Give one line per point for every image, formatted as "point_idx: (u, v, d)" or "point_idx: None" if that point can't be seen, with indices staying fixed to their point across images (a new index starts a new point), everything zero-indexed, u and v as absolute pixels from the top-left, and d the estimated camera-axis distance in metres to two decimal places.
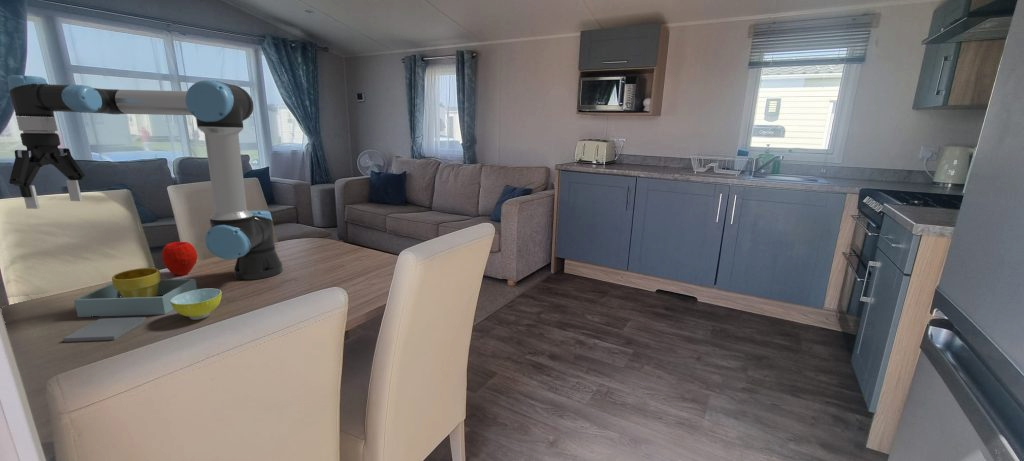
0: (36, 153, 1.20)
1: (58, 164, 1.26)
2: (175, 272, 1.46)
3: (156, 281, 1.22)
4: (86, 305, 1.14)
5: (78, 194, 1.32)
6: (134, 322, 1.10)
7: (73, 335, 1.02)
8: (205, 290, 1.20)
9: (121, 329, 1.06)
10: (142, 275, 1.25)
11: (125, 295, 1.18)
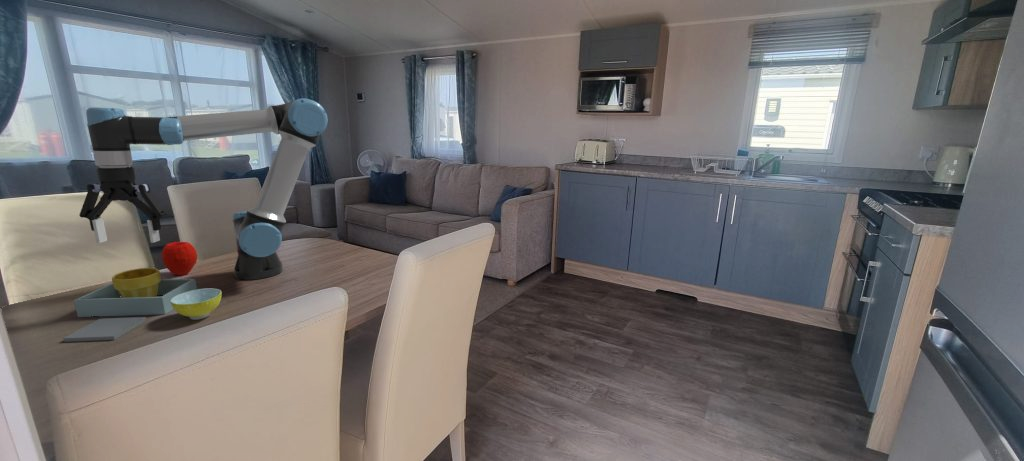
0: (102, 188, 1.14)
1: None
2: (175, 272, 1.46)
3: (156, 281, 1.22)
4: (86, 305, 1.14)
5: (150, 235, 1.18)
6: (134, 322, 1.10)
7: (73, 335, 1.02)
8: (205, 290, 1.20)
9: (121, 329, 1.06)
10: (142, 275, 1.25)
11: (125, 295, 1.18)
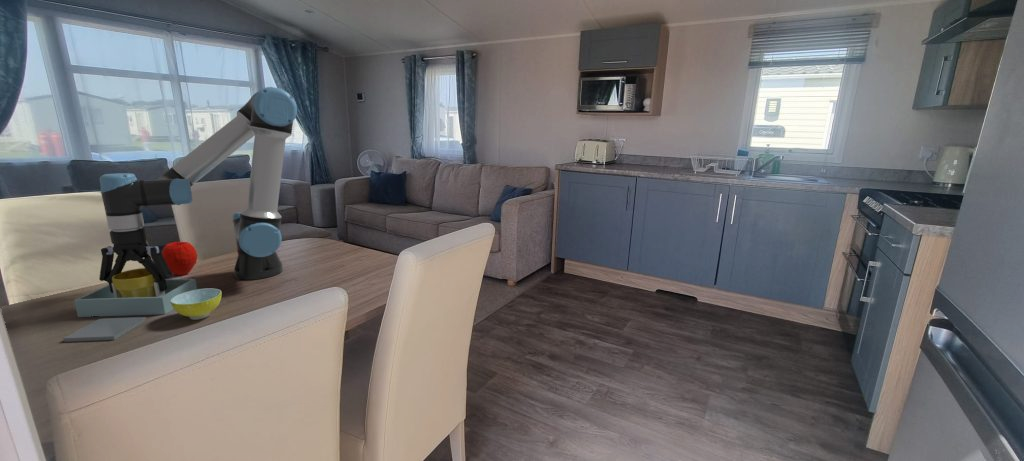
0: (115, 250, 1.18)
1: None
2: (175, 272, 1.46)
3: None
4: (86, 305, 1.14)
5: (156, 296, 1.22)
6: (134, 322, 1.10)
7: (73, 335, 1.02)
8: (205, 290, 1.20)
9: (121, 329, 1.06)
10: (142, 275, 1.25)
11: (125, 295, 1.18)
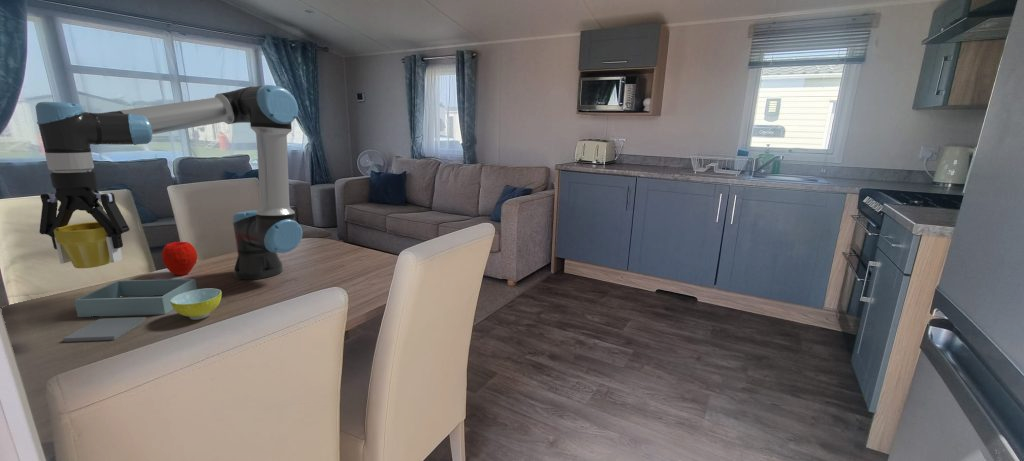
0: (57, 196, 0.98)
1: None
2: (175, 272, 1.46)
3: None
4: (86, 305, 1.14)
5: (110, 254, 1.02)
6: (134, 322, 1.10)
7: (73, 335, 1.02)
8: (205, 290, 1.20)
9: (121, 329, 1.06)
10: None
11: (70, 251, 0.98)
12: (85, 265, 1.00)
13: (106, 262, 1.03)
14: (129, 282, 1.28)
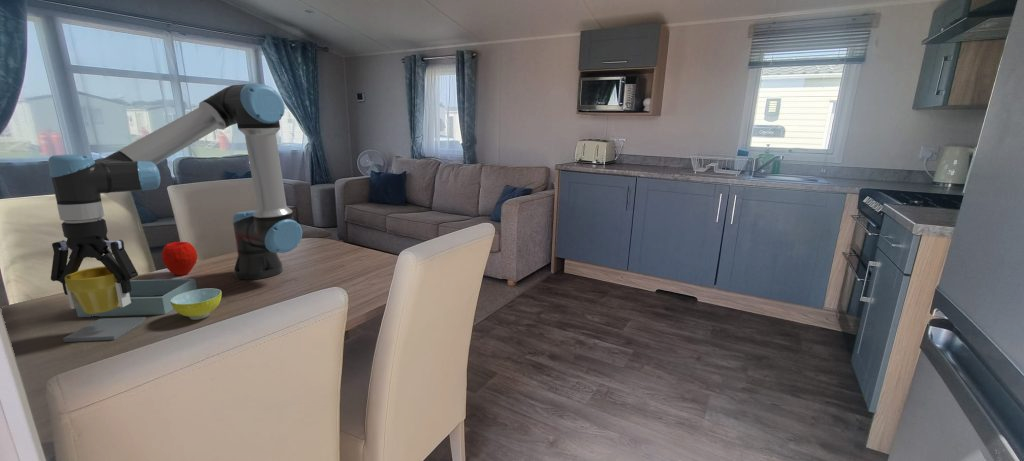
0: (68, 244, 1.01)
1: None
2: (175, 272, 1.46)
3: None
4: None
5: (118, 299, 1.05)
6: (134, 322, 1.10)
7: (73, 335, 1.02)
8: (205, 290, 1.20)
9: (121, 329, 1.06)
10: (103, 274, 1.08)
11: (80, 298, 1.01)
12: (95, 311, 1.03)
13: (115, 306, 1.06)
14: None
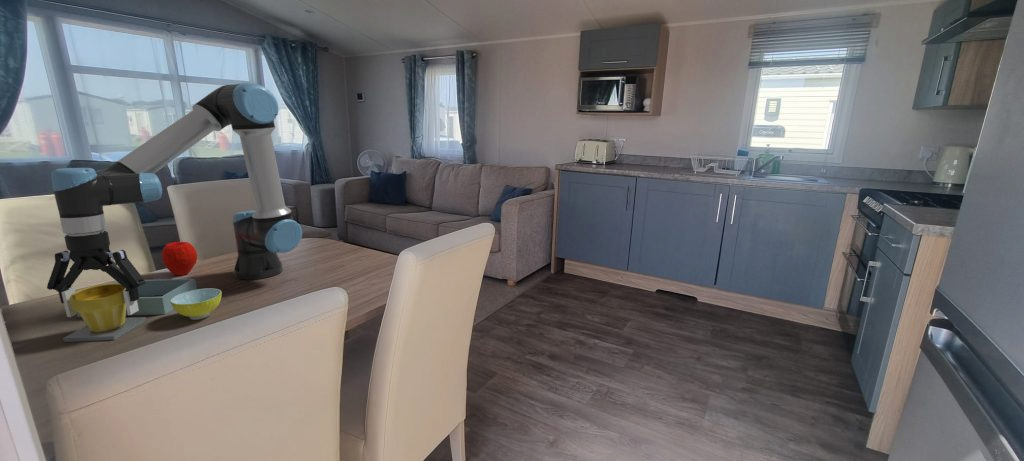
0: (71, 257, 1.01)
1: None
2: (175, 272, 1.46)
3: (123, 300, 1.06)
4: None
5: (126, 307, 1.05)
6: (134, 322, 1.10)
7: (73, 335, 1.02)
8: (205, 290, 1.20)
9: (121, 329, 1.06)
10: (108, 292, 1.09)
11: (86, 317, 1.02)
12: (100, 329, 1.04)
13: (120, 324, 1.07)
14: None
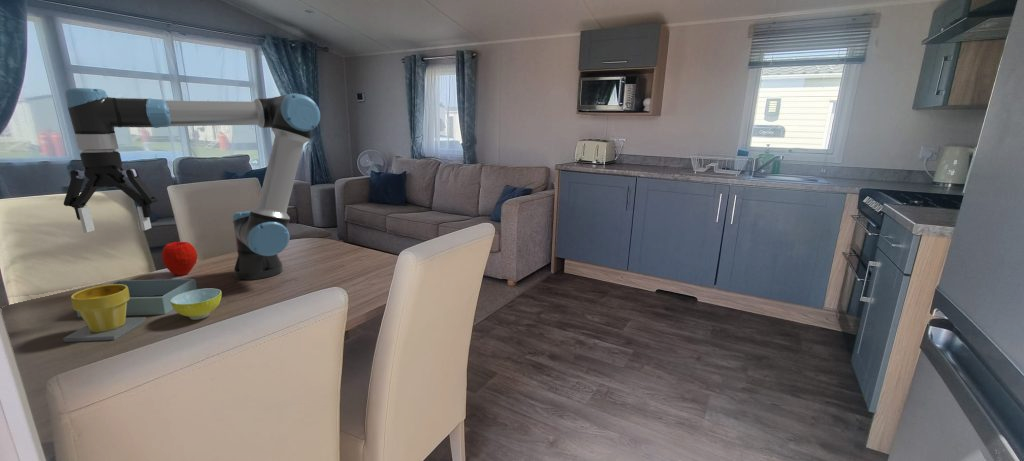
0: (86, 174, 1.08)
1: None
2: (175, 272, 1.46)
3: (123, 300, 1.06)
4: None
5: (141, 222, 1.13)
6: (134, 322, 1.10)
7: (73, 335, 1.02)
8: (205, 290, 1.20)
9: (121, 329, 1.06)
10: (108, 292, 1.09)
11: (86, 317, 1.02)
12: (100, 329, 1.04)
13: (120, 324, 1.07)
14: (129, 282, 1.28)
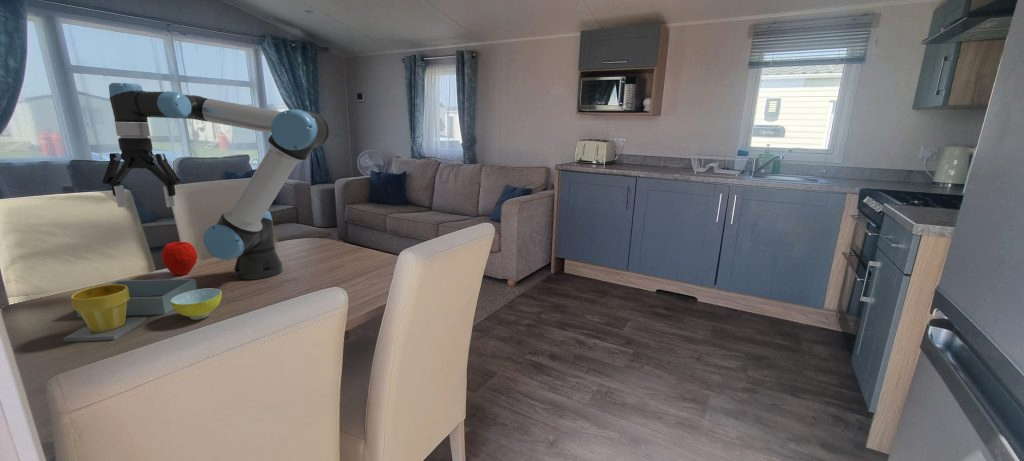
0: (122, 157, 1.26)
1: None
2: (175, 272, 1.46)
3: (123, 300, 1.06)
4: None
5: (166, 200, 1.30)
6: (134, 322, 1.10)
7: (73, 335, 1.02)
8: (205, 290, 1.20)
9: (121, 329, 1.06)
10: (108, 292, 1.09)
11: (86, 317, 1.02)
12: (100, 329, 1.04)
13: (120, 324, 1.07)
14: (129, 282, 1.28)
